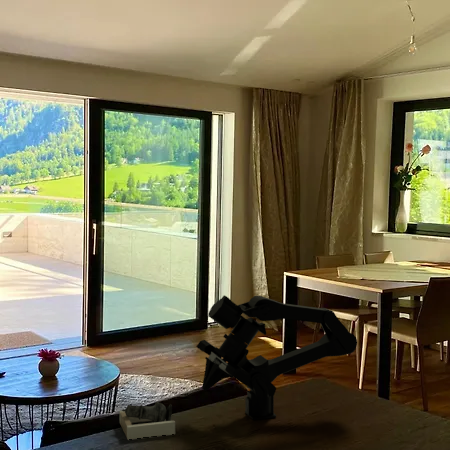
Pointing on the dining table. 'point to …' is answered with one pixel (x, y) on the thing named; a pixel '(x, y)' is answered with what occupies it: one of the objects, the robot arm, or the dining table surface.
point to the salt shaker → (150, 412)
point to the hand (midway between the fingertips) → (203, 389)
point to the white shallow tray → (145, 427)
